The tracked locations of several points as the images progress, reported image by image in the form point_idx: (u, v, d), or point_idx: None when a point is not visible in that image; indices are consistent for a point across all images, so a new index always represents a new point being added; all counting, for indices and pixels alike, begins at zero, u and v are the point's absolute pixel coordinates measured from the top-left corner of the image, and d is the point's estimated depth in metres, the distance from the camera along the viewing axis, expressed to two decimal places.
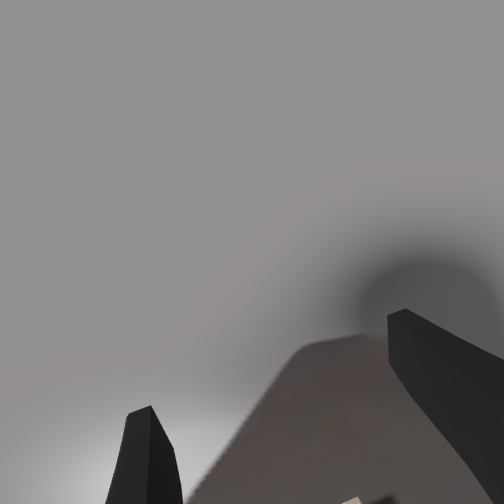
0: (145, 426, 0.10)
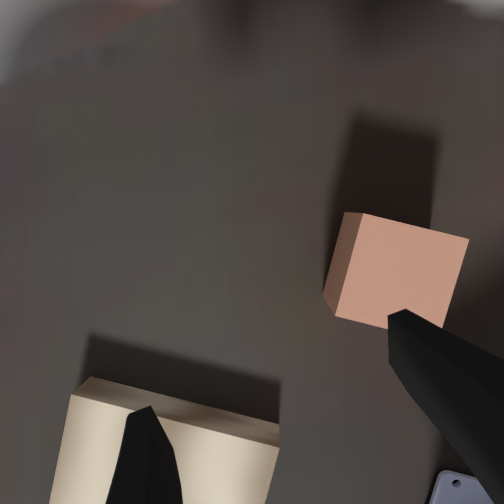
0: (145, 426, 0.10)
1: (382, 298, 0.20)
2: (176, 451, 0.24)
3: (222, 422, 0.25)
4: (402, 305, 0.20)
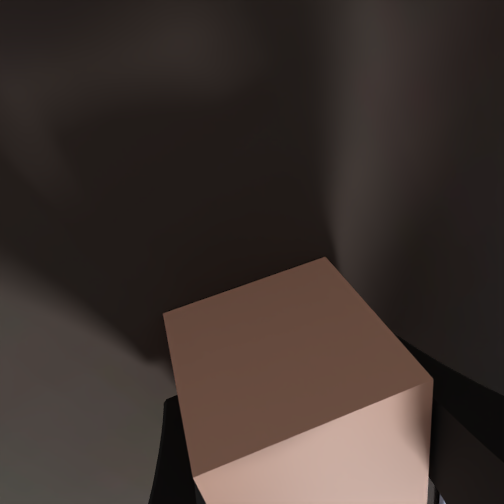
0: None
1: None
2: None
3: None
4: None
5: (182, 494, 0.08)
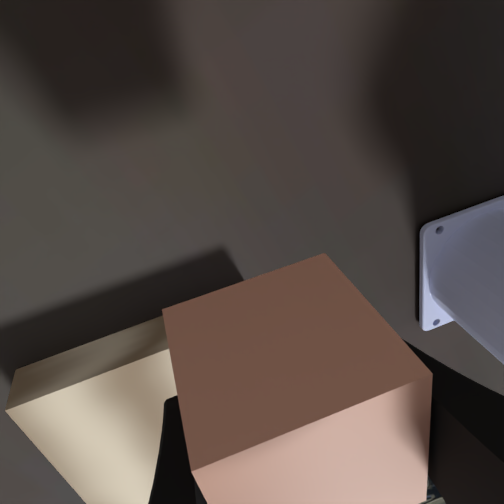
0: None
1: None
2: (161, 380, 0.20)
3: None
4: None
5: (182, 494, 0.08)
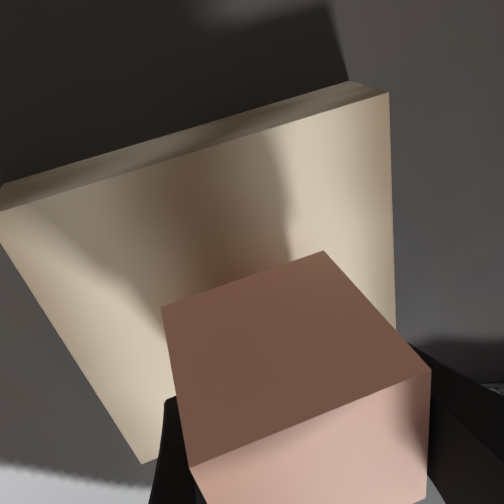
0: None
1: None
2: (230, 198, 0.13)
3: (272, 115, 0.13)
4: None
5: (182, 494, 0.08)
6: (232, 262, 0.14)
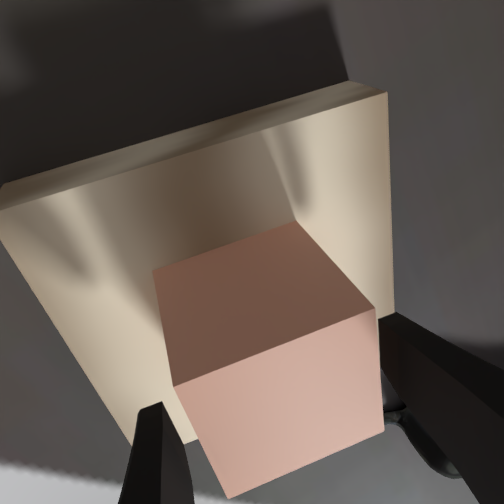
0: (157, 421, 0.10)
1: (281, 446, 0.12)
2: (229, 197, 0.13)
3: (271, 115, 0.13)
4: (315, 433, 0.12)
5: None
6: None
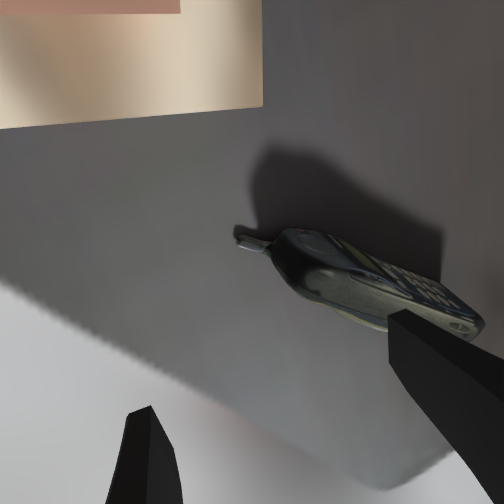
0: (145, 426, 0.10)
1: None
2: None
3: None
4: None
5: None
6: None
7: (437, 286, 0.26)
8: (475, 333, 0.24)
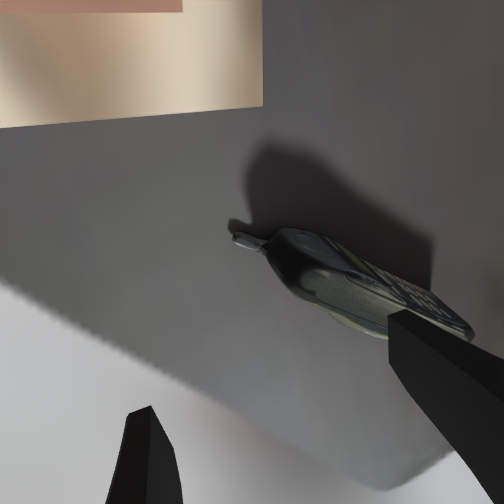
0: (145, 426, 0.10)
1: None
2: None
3: None
4: None
5: None
6: None
7: (429, 295, 0.26)
8: None
